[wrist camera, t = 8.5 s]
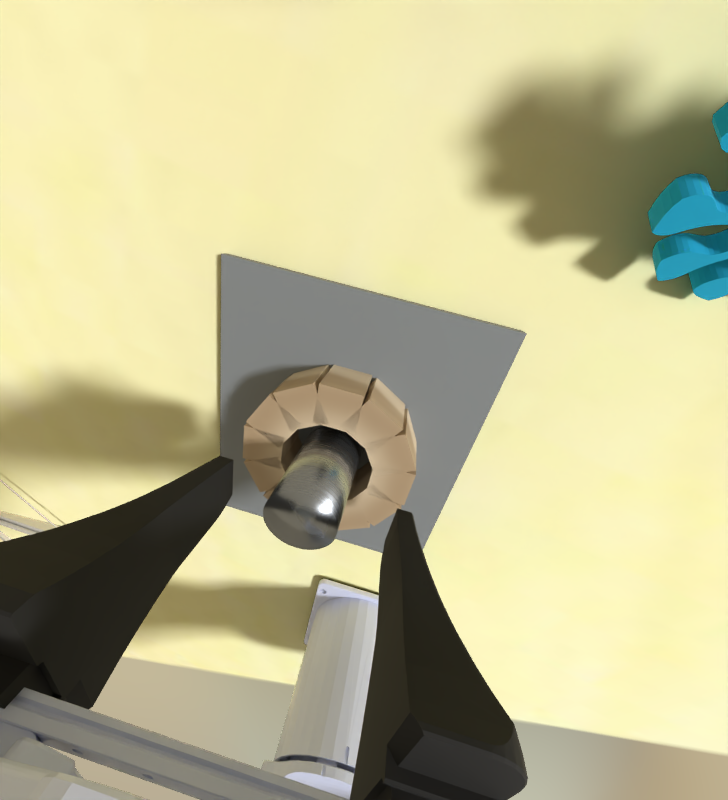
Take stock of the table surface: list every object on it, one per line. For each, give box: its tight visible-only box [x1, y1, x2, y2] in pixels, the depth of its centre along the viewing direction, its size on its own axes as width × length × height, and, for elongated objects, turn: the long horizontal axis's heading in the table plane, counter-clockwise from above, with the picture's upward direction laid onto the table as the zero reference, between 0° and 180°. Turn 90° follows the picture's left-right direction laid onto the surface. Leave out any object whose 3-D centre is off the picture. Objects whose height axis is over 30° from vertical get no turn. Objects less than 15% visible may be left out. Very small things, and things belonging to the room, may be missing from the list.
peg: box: [263, 425, 363, 550], centre depth 14 cm, size 3×3×6 cm
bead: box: [243, 364, 417, 530], centre depth 16 cm, size 8×8×2 cm
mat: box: [220, 254, 526, 553], centre depth 17 cm, size 16×14×1 cm
